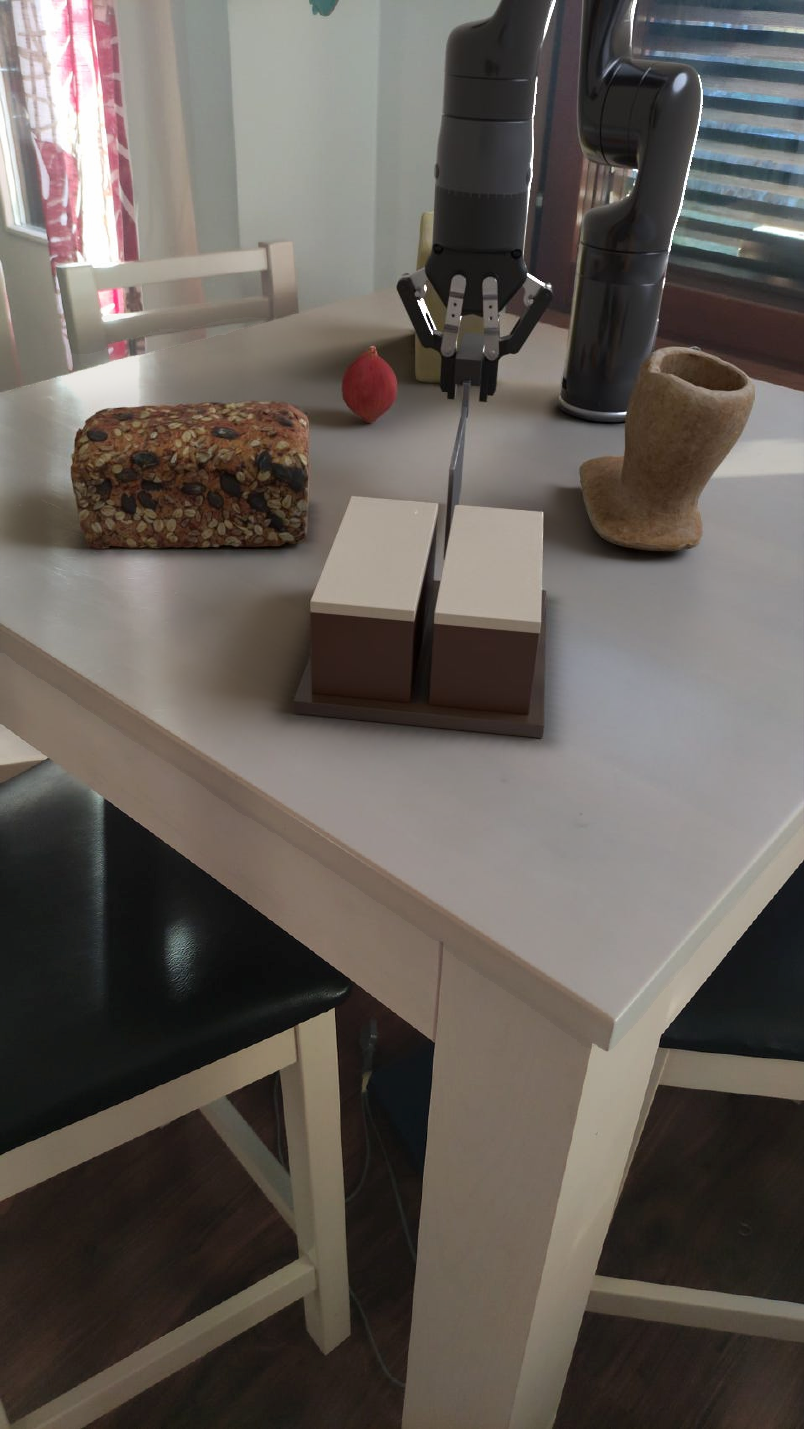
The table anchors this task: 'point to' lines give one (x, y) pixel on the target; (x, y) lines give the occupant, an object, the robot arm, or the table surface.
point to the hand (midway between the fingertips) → (467, 397)
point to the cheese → (436, 312)
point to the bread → (193, 475)
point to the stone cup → (667, 450)
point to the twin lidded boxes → (430, 620)
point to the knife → (463, 415)
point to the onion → (369, 386)
